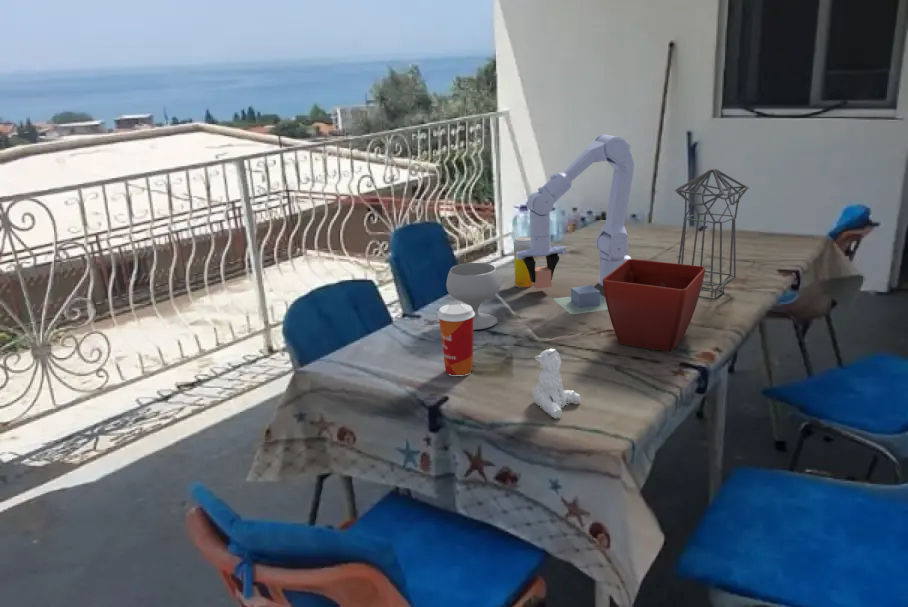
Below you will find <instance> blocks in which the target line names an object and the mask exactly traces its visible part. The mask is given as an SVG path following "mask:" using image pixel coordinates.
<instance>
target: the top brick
mask: <svg viewBox="0 0 908 607" xmlns="http://www.w3.org/2000/svg"><path fill="white" fill-rule="evenodd" d="M532 285H533V286H532V287H534V288H535V289H543V288H551V287H552V280H551V270H550V269H549V268H548V267H547V265H545V266H544V265H543V266H535V282H532Z"/></svg>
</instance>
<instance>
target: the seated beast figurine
mask: <svg viewBox="0 0 908 607" xmlns="http://www.w3.org/2000/svg"><path fill="white" fill-rule="evenodd" d="M534 359H535V361H537V362H538V363H539V366H540V368H541V369H542V371H540V373H539V374H538V378H537V383H536V384H535V385H534V386H533V387H532V390H531V392H532V399H533V401H534V403H535V404H536V405H537V406H538V407H539V406H540V407H539V408H540V409H541V408H542V409H543V410H542V409H541V410H542V411H544V412H545V413H546V412H547V413H546V414H547V415H549V414H550V415H551V416H552V417H554V418H553V419H556V418H555V417H556V416H560V415H561V416H562V414H563V409H562V407H561V406H565V405H567V403H566V402H569V403H579V404H578V405H581V399H582V395H581V394H579V393H577V392H575V391H574V390H573V389H572V390H570V389H566V390H565V389H564V386H563V381H562V375H561V373H560V370H561V365H562V360H561V357H560V353H559V352H558V351H557V350H556V348H549V349H545V350H542V351H541V353H540V354H539V355H535V356H534ZM567 406H568V405H567ZM550 415H549V416H550ZM551 416H550V417H551ZM561 416H560V417H561ZM552 417H551V418H552Z"/></svg>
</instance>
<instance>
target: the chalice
mask: <svg viewBox="0 0 908 607" xmlns="http://www.w3.org/2000/svg"><path fill="white" fill-rule="evenodd" d="M445 286H446V291H447V292H448V294H449V295H450V296H451V298H453V299H456V300H458V301H459V302H462V303H463V304H467V305H470V306H471V307H472V309H473V311H474V313H475V315H474V317H473V331H475V330H483V329H488V328H491V327H493V326H495V325H497V323H498V320H499V319H498V318H497V317H496V316H494V315H492V314H488V313H482V312H479V307H480V306H481V304H483V303H484V302H486V301H488V300H490V299H492V298H493V297H495V296H496V295H497V293H498V292H499V291H500V288H501V280H500V276H499V273H498V270H497V269H496V267H495V266H494V265H492V264H491V263H486V262H465V263H460V264H456V265H454V266H452V267H451V268H450V270H449V271H448V274H447V277H446V284H445Z"/></svg>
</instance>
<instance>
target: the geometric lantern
mask: <svg viewBox="0 0 908 607" xmlns="http://www.w3.org/2000/svg"><path fill="white" fill-rule="evenodd" d="M711 175H713V177H714V179H715V183H716V186H715V185H709V182H710V178H711ZM725 178H726V179H728V180H730V181H731V182H733V183H735V184H736V186H733V185H732V184H731V183H730V182H729V181H728V180H726V179H725ZM704 183H705V184H704ZM722 185H723V186H724V187H725V188H723V186H722ZM738 185H739V186H738ZM701 187H702V188H703V190H702V192H698V190H699V189H700V188H701ZM709 188H711V189H715V190H718V191H719V192H718V193H715V192H713V191H712V190H710V189H709ZM748 189H750V187H748V186H747V185H744V184H743V183H742V182H739V181H737V180H736V179H734V178H733V177H731V176H729V175H727V174H726V173H724V172H722V171H721V170H719V169H717V168H709V169H708V170H707V171H705V172H704V173H702V174H700V175H698V176H697V177H695V178H693V179H691V180H690V181H688V182H686V183H685V184H683V185H680V186H679V187H677V188H676V189H674V191H675V193H676V194H678V195H679V196H680V197H681V198H682V199H684V217H683V224H682V231H681V239H680V246H679V251H678V252H679V254H678V260H677V261H678V262H677V264H684V256H685V246H686V245H685V244H686V234H687V233H686V231H687V221H691V222H693V221H694V222H696V225H695V226H696V228H695V235H694V242H693V250H692V251H693V252H692V258H691V265H694V264H695V256H696V247H697V241H698V233H699V232H698V231H699V225H700V224H699V223H700V222H702V223H703V228H702V238H701V239H702V240H701V251H700V262H699V263H700V264H699V266H702V267H703V261H704V260H703V258H704V249H705V248H704V246H705V234H706V224H707V223H710V224H711V223H712V237H711V239H712V241H711V256H710V257H711V258H710V270H707V269H705V273H709V274H710V277H709V278H710V281H704V280H703V283H702V287H701V291H705V292H711V293H710V296H711V297H710V296H705V295H699V298H704V299H709V300H715V299H717V298H719V296H721V295H723V293H725V286H726V285H728V284H729V283H731V282H733V281H734V280H735V279H736V277H737V264H736V263H737V260H736V259H737V257H736V253H737V252H736V249H737V248H736V219H737V216H738V210H739V208H738V207H739V204H740V199H741V198H742V197H743V195H744V194H745V193H746V192H747V190H748ZM732 190H733V191H734V192H732ZM706 191H708V193H706ZM725 192H727V194H726V193H725ZM687 194H688V195H689V197H687ZM695 195H699V196H701V201H702V202H701V203H699V202H698V203H695V197H694V196H695ZM736 195H738V197H737V198H736ZM724 196H725V197H724ZM704 197H713V198H710V199H708V200H707V201H705V200H704ZM732 198H733V199H732ZM718 199H720V200H724V201H725V204H726V207H725V209H724V210H723V212H722V213H712V212H711V211H710V210H711V208H712V207H713V206H714V204H715V203H716V202H717V200H718ZM735 199H736V200H735ZM727 200H728V201H729V204H728V201H727ZM688 203H690V204H691V205H690V207H689V209H688V208H687V207H688V206H687V205H688ZM709 203H711V204H710V206H709V207H708V205H707V204H709ZM735 205H736V206H735ZM696 206H704V208H705V209H706V211H705V212H699V210H698V208H697V207H696ZM730 206H735V210H734V215H733V214H732V212H731V209H730ZM693 207H694V210H696V212H697V213H693V214H691V215H688V214H689V212H690V211H691V210H692V208H693ZM687 209H688V211H687ZM727 210H728V212H729V214H726V211H727ZM701 215H703V220H701V219H700V216H701ZM707 215H709V216H710V218H711V219H712V221H711V220H706V219H707ZM713 215H714V216H720V218H719V219H718V220H717V221H716V220H715V218H714V216H713ZM694 216H697V218H696V219H695V218H694V219H693V218H691V217H694ZM723 216H724V217H731V218H729V219H726V220H724V221H721V219H722V218H723ZM729 221H731V236H730V253H729V273H727V272H722V269H723V268H722V267H723V259H722V258H723V256H722V255H723V224H724V223H727V222H729ZM716 224H719V272H718V271H714V254H715V253H714V251H715V232H716V230H715V228H716ZM694 266H695V265H694ZM732 268H733V270H732ZM732 271H733V274H732ZM713 274H715V275H719V282H713V276H714V275H713ZM722 275H724V276H727V277H726V279H724V281H723V280H722V278H723V276H722ZM730 277H731V278H730ZM705 286H707V287H705ZM708 286H709V287H708ZM715 286H717V287H716V288H714V287H715ZM717 291H720V293H719V294H717ZM713 293H714V295H713ZM713 296H714V297H713Z"/></svg>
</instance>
